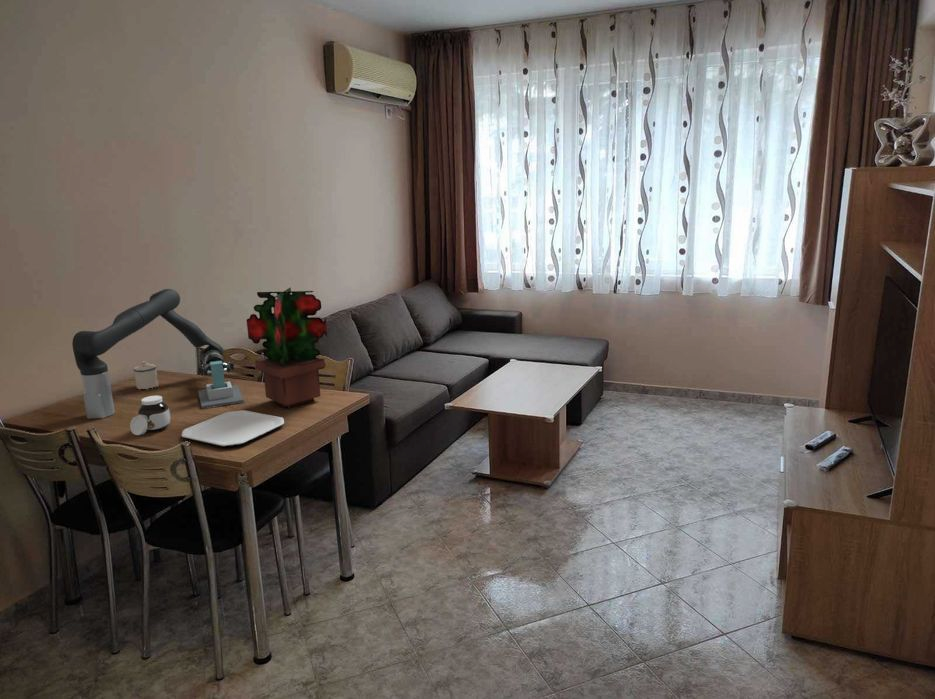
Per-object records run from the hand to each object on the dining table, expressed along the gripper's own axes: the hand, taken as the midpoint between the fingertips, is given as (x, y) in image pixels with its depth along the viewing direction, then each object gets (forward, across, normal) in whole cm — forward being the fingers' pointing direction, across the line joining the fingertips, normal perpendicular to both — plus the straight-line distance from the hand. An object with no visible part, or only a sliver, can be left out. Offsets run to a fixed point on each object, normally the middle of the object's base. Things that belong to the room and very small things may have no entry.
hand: (217, 371), depth 277 cm
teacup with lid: (-31, -29, +11) cm, 44 cm away
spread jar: (+30, -26, +11) cm, 41 cm away
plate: (+45, +1, +11) cm, 46 cm away
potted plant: (+21, +26, +11) cm, 36 cm away
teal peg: (+2, 0, +10) cm, 10 cm away
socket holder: (+2, 0, +11) cm, 11 cm away
